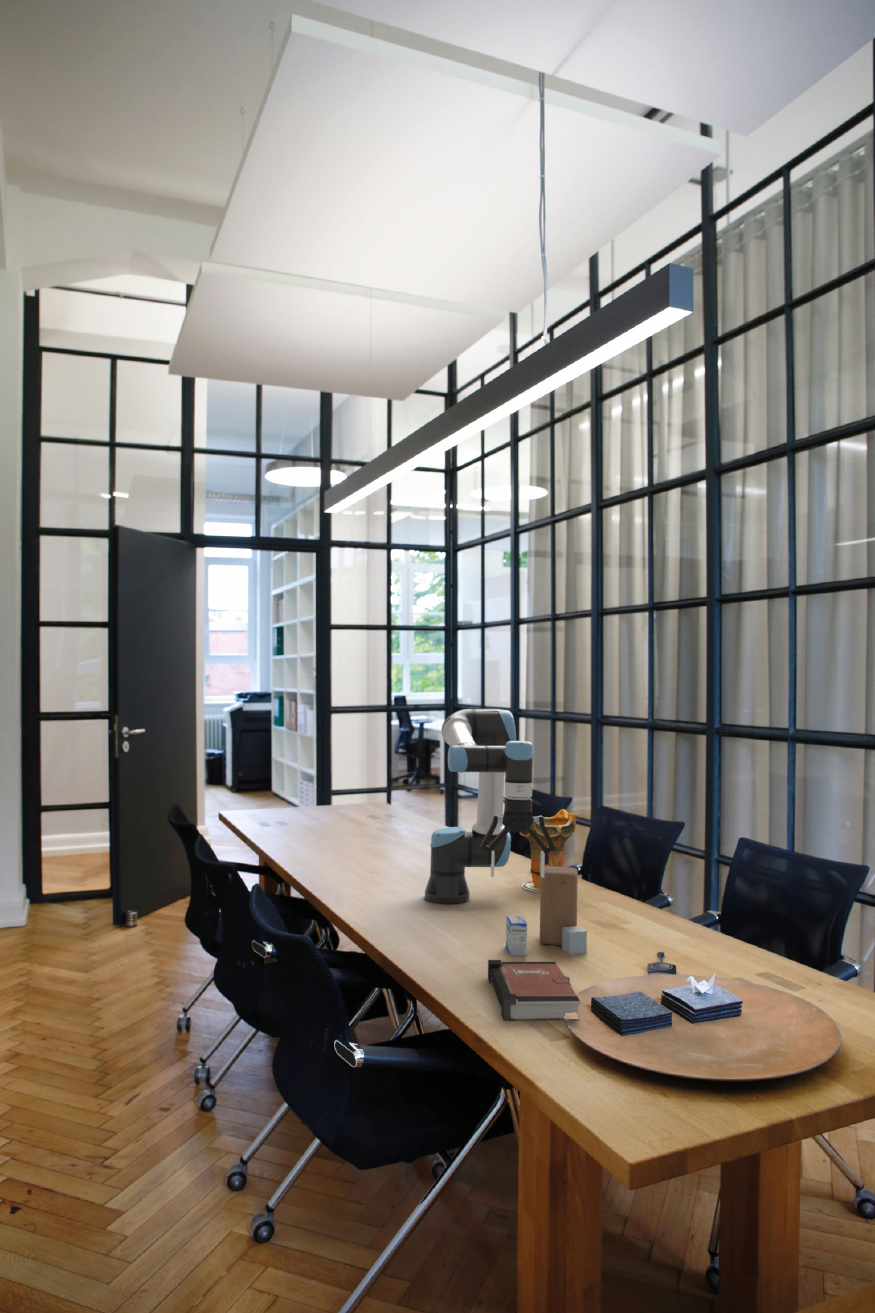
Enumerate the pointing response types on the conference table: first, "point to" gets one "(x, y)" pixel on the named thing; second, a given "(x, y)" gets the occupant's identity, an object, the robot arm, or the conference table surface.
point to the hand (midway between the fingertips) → (517, 876)
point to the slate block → (574, 940)
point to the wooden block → (557, 903)
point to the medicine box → (516, 936)
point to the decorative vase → (559, 832)
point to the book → (532, 990)
